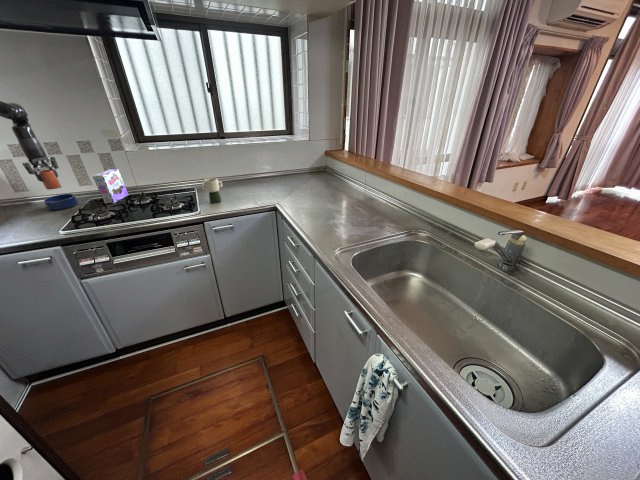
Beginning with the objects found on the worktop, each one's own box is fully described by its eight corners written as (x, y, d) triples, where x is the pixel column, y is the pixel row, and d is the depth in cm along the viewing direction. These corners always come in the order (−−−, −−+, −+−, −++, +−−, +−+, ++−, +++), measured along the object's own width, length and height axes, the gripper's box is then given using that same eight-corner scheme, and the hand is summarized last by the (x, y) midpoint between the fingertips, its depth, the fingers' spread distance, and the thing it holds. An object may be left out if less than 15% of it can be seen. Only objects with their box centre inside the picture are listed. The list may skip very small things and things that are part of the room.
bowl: (43, 212, 144) (38, 203, 141) (56, 203, 155) (51, 195, 152) (72, 209, 147) (67, 200, 145) (82, 200, 158) (78, 192, 156)
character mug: (224, 197, 159) (220, 176, 152) (226, 201, 153) (222, 179, 147) (205, 201, 155) (199, 179, 148) (206, 205, 149) (201, 182, 143)
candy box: (114, 203, 153) (102, 175, 145) (104, 203, 153) (91, 175, 145) (129, 195, 165) (119, 168, 157) (120, 195, 165) (109, 168, 157)
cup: (43, 190, 142) (34, 173, 138) (50, 186, 147) (41, 170, 143) (57, 188, 144) (48, 172, 139) (63, 185, 149) (55, 169, 144)
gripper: (41, 144, 141) (57, 175, 150) (9, 149, 129) (28, 183, 138) (52, 144, 140) (68, 175, 148) (20, 150, 128) (39, 184, 136)
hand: (49, 179), depth 143 cm, fingers closed on cup, 6 cm apart
